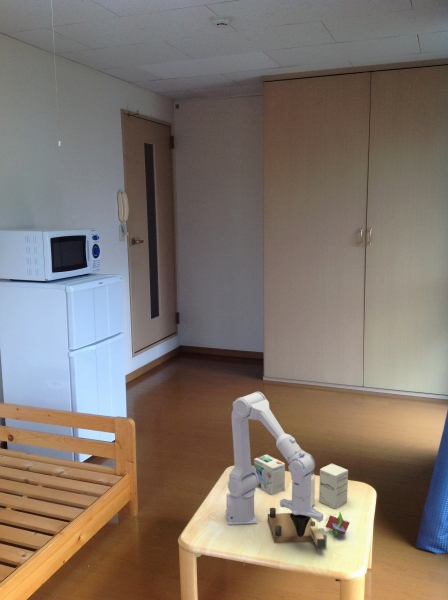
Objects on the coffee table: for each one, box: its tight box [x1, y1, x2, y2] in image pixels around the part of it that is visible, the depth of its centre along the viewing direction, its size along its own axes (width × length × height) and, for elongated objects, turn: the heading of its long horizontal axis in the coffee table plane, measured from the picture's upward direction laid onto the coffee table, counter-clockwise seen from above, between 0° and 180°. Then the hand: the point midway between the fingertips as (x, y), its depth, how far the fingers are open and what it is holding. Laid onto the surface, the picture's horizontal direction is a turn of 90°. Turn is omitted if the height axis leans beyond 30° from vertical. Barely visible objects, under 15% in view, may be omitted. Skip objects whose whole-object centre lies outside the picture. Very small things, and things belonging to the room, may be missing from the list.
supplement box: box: [318, 463, 349, 510], centre depth 200 cm, size 7×7×13 cm
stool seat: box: [267, 507, 314, 544], centre depth 183 cm, size 14×14×4 cm
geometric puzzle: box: [324, 512, 351, 538], centre depth 180 cm, size 7×7×8 cm
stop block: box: [318, 527, 328, 550], centre depth 174 cm, size 1×4×5 cm, turn 4°
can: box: [310, 470, 316, 507], centre depth 199 cm, size 6×6×12 cm
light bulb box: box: [253, 453, 286, 496], centre depth 211 cm, size 11×7×11 cm, turn 37°
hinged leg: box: [310, 520, 325, 549], centre depth 174 cm, size 10×2×3 cm, turn 8°
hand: (300, 535), depth 174 cm, fingers closed
